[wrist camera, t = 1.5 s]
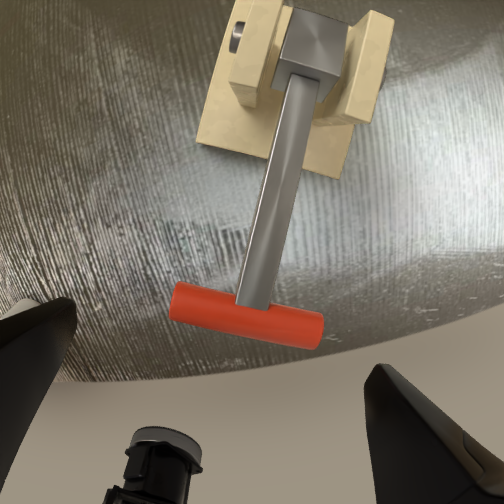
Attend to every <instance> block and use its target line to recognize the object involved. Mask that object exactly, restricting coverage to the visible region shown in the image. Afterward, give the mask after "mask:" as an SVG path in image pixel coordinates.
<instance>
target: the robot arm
mask: <svg viewBox="0 0 504 504" xmlns="http://www.w3.org/2000/svg"><path fill="white" fill-rule="evenodd" d="M76 329H77V312H76V303H75V301H74V300H73V299H70V298H67V297H59V298H57V299H54V300H51V301H49V302H46V303H43V304H41V305H38V306H35V307H33V308H30V309H28V310H25V311H22V312H20V313H17V314H15V315H12V316H9V317H7V318H4V319H2V320H0V493H1V490H2V488H3V485H4V482H5V479H6V477H7V475H8V472H9V470H10V467H11V465H12V463H13V461H14V458H15V456H16V454H17V452H18V449H19V447H20V445H21V443H22V441H23V439H24V436H25V434H26V432H27V430H28V428H29V426H30V424H31V422H32V420H33V418H34V416H35V414H36V412H37V410H38V408H39V406H40V404H41V402H42V400H43V398H44V396H45V395H46V393H47V391H48V389H49V387H50V385H51V383H52V382H53V380H54V378H55V376H56V374H57V372H58V370H59V368H60V366H61V364H62V361H63V359H64V357H65V354H66V352H67V350H68V347H69V345H70V343H71V340H72V338H73V336H74V334H75V331H76ZM364 399H365V416H366V430H367V438H368V444H369V450H370V457H371V464H372V471H373V478H374V486H375V494H376V503H377V504H504V462H503V461H501V460H500V459H499V458H497V457H496V456H495V455H493V454H492V453H491V452H490V451H488V450H487V449H486V448H484V447H483V446H482V445H481V444H479V443H478V442H477V441H476V440H475V439H474V438H472V437H471V436H470V435H469V434H468V433H467V432H466V431H464V430H463V429H462V428H461V427H460V426H459V425H458V424H457V423H455V422H454V421H453V420H452V419H451V418H450V417H449V416H447V415H446V414H445V413H444V412H443V411H442V410H441V409H439V408H438V407H437V406H436V405H435V404H434V403H433V402H431V401H430V400H429V399H428V398H427V397H426V396H425V395H423V394H422V393H421V392H420V391H419V390H418V389H417V388H416V387H415V386H413V385H412V384H411V383H410V382H409V381H408V380H407V379H405V378H404V377H403V376H402V375H401V374H400V373H399V372H397V371H396V370H395V369H394V368H393V367H392V366H391V365H389V364H380V363H379V364H377V365H376V366H375V367H374V368H373V370H372V372H371V373H370V375H369V377H368V378H367V380H366V382H365V384H364ZM125 454H126V455H127V456H129V459H128V463H127V466H126V469H125V472H124V475H123V477H124V479H125V483H124V487H123V488H120V487H119V486H117V485H114V487H113V489H107V493H106V496H105V499H104V502H103V503H102V504H187V500H188V492H189V486H190V479H191V475H194V474H198V473H202V471H203V468H202V467H200V466H199V465H198V464H196V463H195V462H194V461H192V460H191V459H190V458H188V457H187V456H186V455H184V454H183V453H182V452H180V451H179V450H178V449H177V448H175V447H174V446H173V445H172V444H170V443H169V442H167V441H161V442H156V443H152V444H148V445H143V446H139V447H134V448H129V449H126V451H125Z"/></svg>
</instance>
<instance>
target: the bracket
mask: <svg viewBox="0 0 504 504" xmlns="http://www.w3.org/2000/svg"><path fill="white" fill-rule="evenodd" d="M283 5H284V0H236V1H235V4H234V7H233V10H232V13H231V16H230V19H229V23H228V26H227V29H226V32H225V35H224V38H223V42H222V45H221V48H220V52H219V55H218V58H217V62H216V65H215V69H214V72H213V76H212V79H211V83H210V87H209V90H208V94H207V98H206V102H205V105H204V109H203V113H202V117H201V121H200V125H199V129H198V133H197V137H196V143H201V144H205V145H210V146H214V147H219V148H223V149H227V150H232V151H236V152H240V153H244V154H248V155H252V156H256V157H260V158H264V159H268V155H269V151H270V147H271V143H272V139H273V135H274V131H275V127H276V123H277V119H278V115H279V111H280V107H281V103H282V99H283V95H284V92H282V91H278V90H275V89H271V88H270V86H271V82H272V78H273V75H274V71H275V67H276V64H277V60H278V57H279V53H280V49H281V46H282V42H283V39H284V36H285V32H286V29H287V26H288V23H289V19H290V16H291V13H292V10H293V8H291V7H287V6H283ZM394 22H395V21H394V20H393V19H391V18H389V17H387V16H385V15H382V14H380V13H378V12H375V11H373V10H370V11H369V12H368V13H367V14H366V15H365V16H364V17H363V18H362V19H361V20H360V21H359V22H358V23H357V24H356V25H355V26H354V27H351V26H349V27H348V34H347V40H346V47H345V54H344V60H343V66H342V73H341V77H340V79H339V80H338V81H337V83H336V84H335V86H334V87H333V88H332V90H331V91H330V93H329V94H328V95H327V97H326V98H325V100H324V101H323V102H322V103H319V102H316V105H315V110H314V114H313V119H312V124H311V129H310V133H309V138H308V143H307V147H306V152H305V156H304V161H303V165H302V169H304V170H308V171H311V172H314V173H318V174H321V175H324V176H328V177H331V178H334V179H337V180H339V178H340V175H341V172H342V168H343V165H344V162H345V158H346V155H347V151H348V148H349V145H350V141H351V137H352V134H353V130H354V127H355V124H370V123H371V120H372V116H373V113H374V109H375V105H376V101H377V97H378V93H379V92H380V90H381V88H382V87H383V84H384V82H385V78H386V67H385V64H386V60H387V55H388V51H389V46H390V42H391V37H392V32H393V27H394Z"/></svg>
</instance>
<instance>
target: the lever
mask: <svg viewBox="0 0 504 504" xmlns="http://www.w3.org/2000/svg"><path fill="white" fill-rule="evenodd" d="M348 27H349V25H348V24H347V23H344V22H341V21H338V20H335V19H333V18H330V17H326V16H323V15H320V14H317V13H314V12H310V11H307V10H303V9H300V8H296V7H294V8H293V10H292V13H291V16H290V19H289V23H288V26H287V29H286V32H285V36H284V39H283V42H282V46H281V49H280V53H279V57H278V60H277V64H276V67H275V71H274V75H273V78H272V82H271V86H270V88H271V89H275V90H278V91H282V92H284V95H283V99H282V103H281V107H280V111H279V115H278V119H277V123H276V127H275V131H274V135H273V139H272V143H271V147H270V151H269V155H268V159H267V163H266V167H265V171H264V176H263V180H262V184H261V188H260V192H259V196H258V200H257V204H256V208H255V212H254V216H253V220H252V225H251V229H250V233H249V237H248V241H247V245H246V249H245V253H244V257H243V262H242V266H241V270H240V274H239V278H238V282H237V287H236V291H235V294H231V293H227V292H223V291H218V290H214V289H210V288H206V287H202V286H198V285H194V284H190V283H186V282H182V281H178V282H177V284H176V286H175V288H174V292H173V295H172V299H171V304H170V309H169V319H171V320H174V321H178V322H182V323H186V324H190V325H194V326H198V327H202V328H206V329H211V330H215V331H219V332H224V333H228V334H233V335H237V336H242V337H247V338H251V339H256V340H261V341H266V342H271V343H276V344H282V345H287V346H293V347H298V348H304V349H310V350H314V349H316V348H317V346H318V345H319V343H320V341H321V338H322V335H323V329H324V318H323V315H322V314H321V313H318V312H313V311H308V310H304V309H299V308H294V307H289V306H285V305H280V304H276V303H271V302H270V301H271V297H272V293H273V289H274V285H275V281H276V277H277V273H278V268H279V264H280V260H281V256H282V252H283V248H284V244H285V239H286V235H287V231H288V227H289V223H290V218H291V214H292V210H293V205H294V201H295V197H296V192H297V188H298V183H299V179H300V174H301V170H302V165H303V161H304V156H305V152H306V147H307V143H308V138H309V133H310V129H311V124H312V119H313V114H314V110H315V105H316V102H319V103H322V102H323V101H324V100H325V98H326V97H327V95H328V94H329V93H330V91H331V90H332V88H333V87H334V86H335V84H336V83H337V81H338V80H339V79H340V77H341V73H342V66H343V60H344V54H345V47H346V40H347V34H348Z"/></svg>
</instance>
